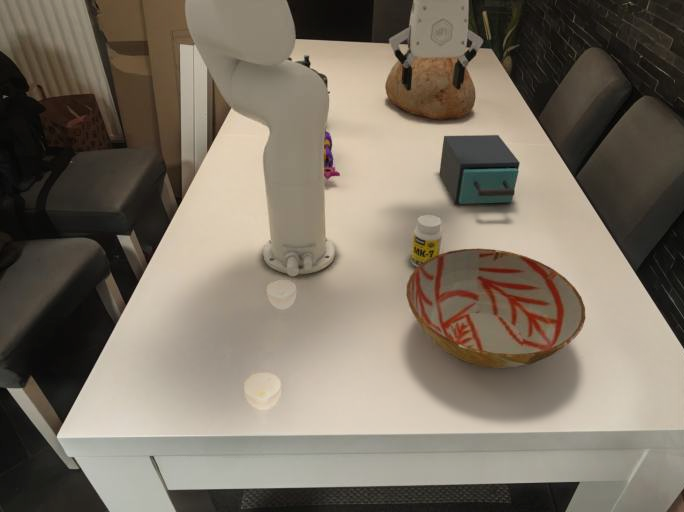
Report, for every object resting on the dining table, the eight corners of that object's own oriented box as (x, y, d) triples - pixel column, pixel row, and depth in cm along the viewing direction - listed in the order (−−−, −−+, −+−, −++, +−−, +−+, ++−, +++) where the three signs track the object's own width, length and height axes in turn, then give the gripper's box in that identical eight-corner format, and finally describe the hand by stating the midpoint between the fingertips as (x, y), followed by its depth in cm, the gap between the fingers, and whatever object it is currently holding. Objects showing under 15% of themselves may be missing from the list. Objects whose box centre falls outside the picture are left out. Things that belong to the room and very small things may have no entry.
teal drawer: (519, 213, 110) (527, 181, 106) (466, 215, 109) (471, 183, 104) (493, 174, 123) (498, 144, 119) (445, 175, 122) (449, 145, 117)
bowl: (544, 289, 93) (556, 249, 87) (593, 399, 74) (612, 357, 69) (397, 287, 92) (400, 246, 86) (409, 399, 73) (414, 356, 68)
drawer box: (510, 202, 116) (519, 162, 110) (454, 204, 114) (460, 163, 108) (491, 172, 126) (498, 134, 120) (439, 174, 125) (444, 135, 119)
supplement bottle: (408, 266, 96) (412, 224, 91) (414, 252, 100) (418, 211, 94) (434, 272, 95) (440, 229, 90) (440, 258, 99) (446, 216, 93)
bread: (487, 118, 152) (497, 60, 142) (411, 127, 145) (416, 66, 135) (444, 88, 170) (450, 34, 160) (374, 95, 163) (376, 39, 153)
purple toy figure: (336, 142, 136) (335, 90, 127) (340, 189, 117) (339, 131, 109) (276, 142, 134) (272, 90, 126) (271, 189, 116) (266, 131, 108)
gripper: (396, -15, 89) (391, 95, 100) (498, -14, 91) (481, 93, 103) (388, -24, 94) (383, 82, 106) (484, -23, 97) (469, 80, 108)
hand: (431, 87), depth 104 cm, fingers open, 9 cm apart
